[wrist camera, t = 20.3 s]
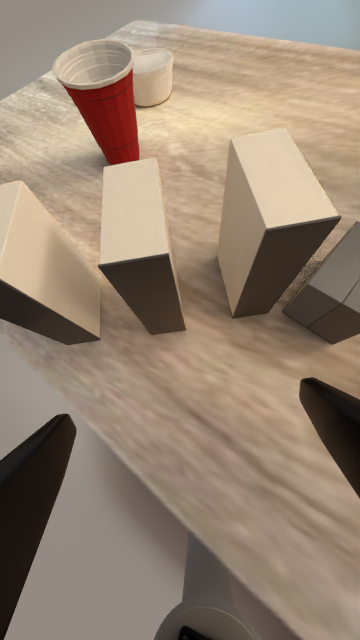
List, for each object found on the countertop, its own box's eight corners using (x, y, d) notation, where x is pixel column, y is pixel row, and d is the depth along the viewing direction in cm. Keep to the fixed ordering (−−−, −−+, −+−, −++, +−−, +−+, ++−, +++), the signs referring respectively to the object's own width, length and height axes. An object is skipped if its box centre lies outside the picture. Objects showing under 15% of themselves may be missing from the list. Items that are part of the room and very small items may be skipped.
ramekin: (163, 78, 47) (159, 41, 42) (184, 97, 42) (182, 58, 38) (120, 95, 46) (110, 59, 41) (137, 116, 42) (128, 78, 37)
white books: (267, 312, 23) (342, 217, 11) (67, 345, 24) (-69, 291, 12) (247, 250, 26) (285, 126, 14) (72, 281, 27) (-28, 189, 15)
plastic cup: (112, 188, 34) (69, 86, 23) (87, 160, 38) (39, 60, 26) (165, 160, 35) (148, 50, 24) (135, 135, 39) (109, 30, 28)
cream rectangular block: (185, 330, 23) (169, 255, 11) (151, 335, 23) (98, 267, 11) (176, 266, 27) (156, 156, 14) (146, 271, 27) (102, 166, 15)
